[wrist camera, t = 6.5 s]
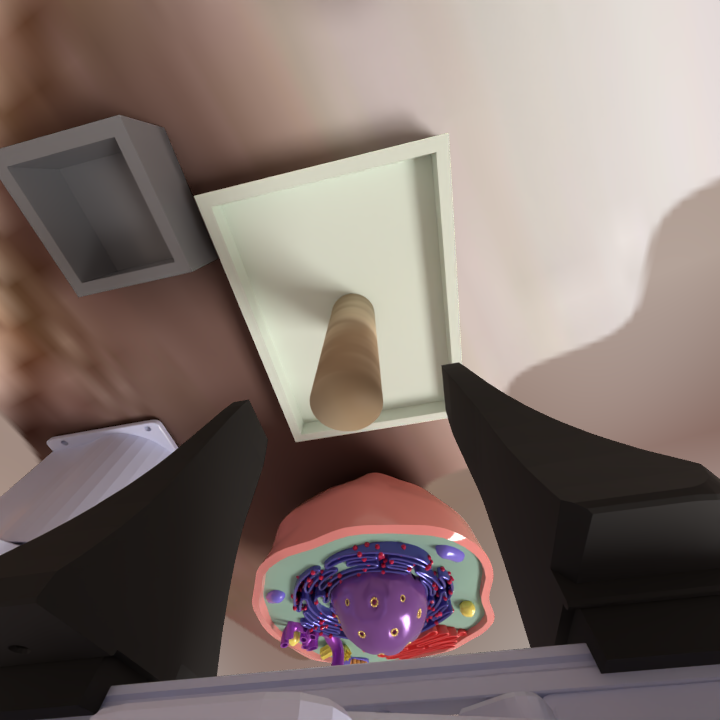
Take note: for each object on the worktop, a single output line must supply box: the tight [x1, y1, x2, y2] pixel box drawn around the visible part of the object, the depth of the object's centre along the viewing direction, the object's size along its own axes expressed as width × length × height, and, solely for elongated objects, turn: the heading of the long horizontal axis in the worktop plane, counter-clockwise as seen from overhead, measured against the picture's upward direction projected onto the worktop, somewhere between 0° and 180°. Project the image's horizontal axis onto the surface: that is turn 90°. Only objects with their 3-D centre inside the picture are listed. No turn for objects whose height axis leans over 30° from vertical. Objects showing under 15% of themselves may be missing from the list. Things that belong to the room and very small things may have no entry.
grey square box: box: [0, 115, 218, 297], centre depth 15 cm, size 6×6×3 cm
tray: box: [194, 133, 462, 442], centre depth 19 cm, size 12×16×2 cm
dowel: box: [310, 294, 383, 431], centre depth 15 cm, size 3×3×9 cm
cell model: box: [252, 472, 494, 666], centre depth 24 cm, size 17×20×11 cm
